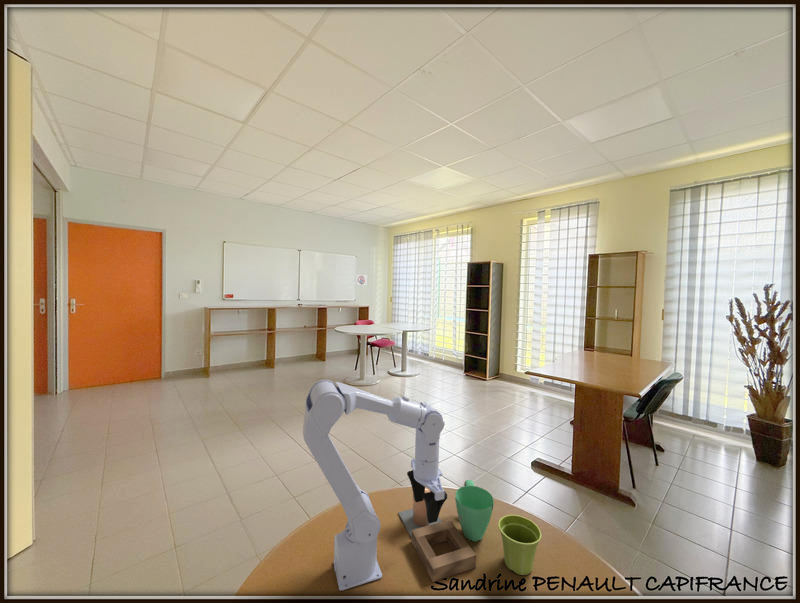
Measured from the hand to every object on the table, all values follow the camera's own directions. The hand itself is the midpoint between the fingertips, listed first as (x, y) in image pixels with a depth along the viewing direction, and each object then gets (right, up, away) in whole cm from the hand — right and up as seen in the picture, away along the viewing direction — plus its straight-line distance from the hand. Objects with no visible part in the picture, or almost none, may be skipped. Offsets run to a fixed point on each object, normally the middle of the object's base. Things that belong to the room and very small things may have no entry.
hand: (425, 510), depth 79 cm
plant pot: (+21, -11, -3) cm, 24 cm away
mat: (0, -10, +10) cm, 14 cm away
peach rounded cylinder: (0, -9, +10) cm, 14 cm away
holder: (+4, -10, -1) cm, 11 cm away
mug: (+13, -10, +8) cm, 18 cm away
